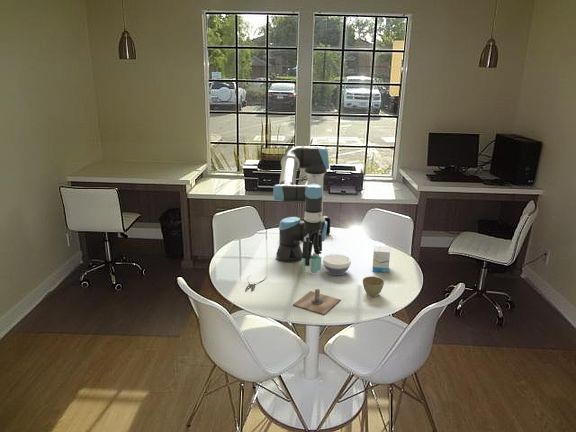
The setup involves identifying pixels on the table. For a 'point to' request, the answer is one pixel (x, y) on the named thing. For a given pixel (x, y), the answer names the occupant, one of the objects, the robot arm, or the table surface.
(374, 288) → the flower pot
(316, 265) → the collar
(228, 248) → the table surface
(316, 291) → the post block
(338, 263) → the bowl
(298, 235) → the robot arm
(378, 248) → the ink box
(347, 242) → the table surface
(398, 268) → the table surface
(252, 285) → the pliers
